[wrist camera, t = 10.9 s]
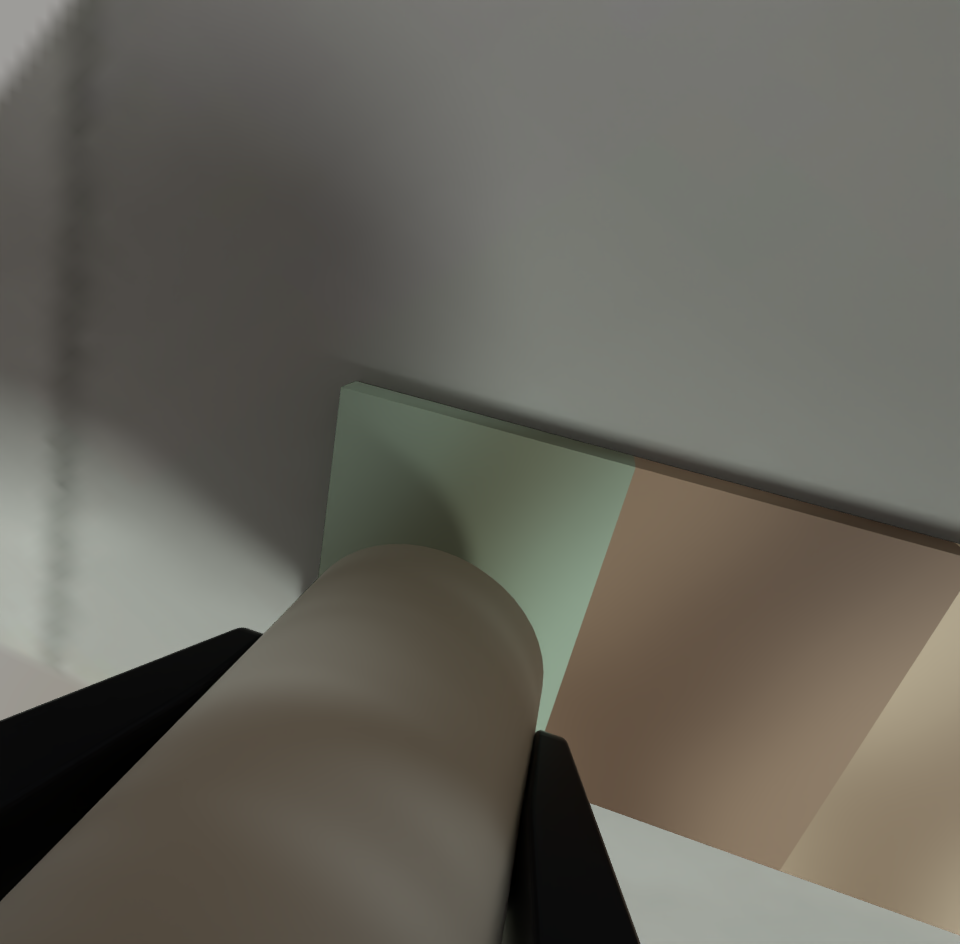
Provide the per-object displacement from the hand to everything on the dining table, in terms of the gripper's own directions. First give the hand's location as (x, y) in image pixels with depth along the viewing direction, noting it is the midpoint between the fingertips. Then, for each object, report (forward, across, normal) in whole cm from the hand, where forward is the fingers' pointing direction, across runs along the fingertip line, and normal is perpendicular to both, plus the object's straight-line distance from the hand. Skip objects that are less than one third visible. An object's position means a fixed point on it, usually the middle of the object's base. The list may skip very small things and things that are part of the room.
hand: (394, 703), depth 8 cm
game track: (+3, -5, 0) cm, 6 cm away
